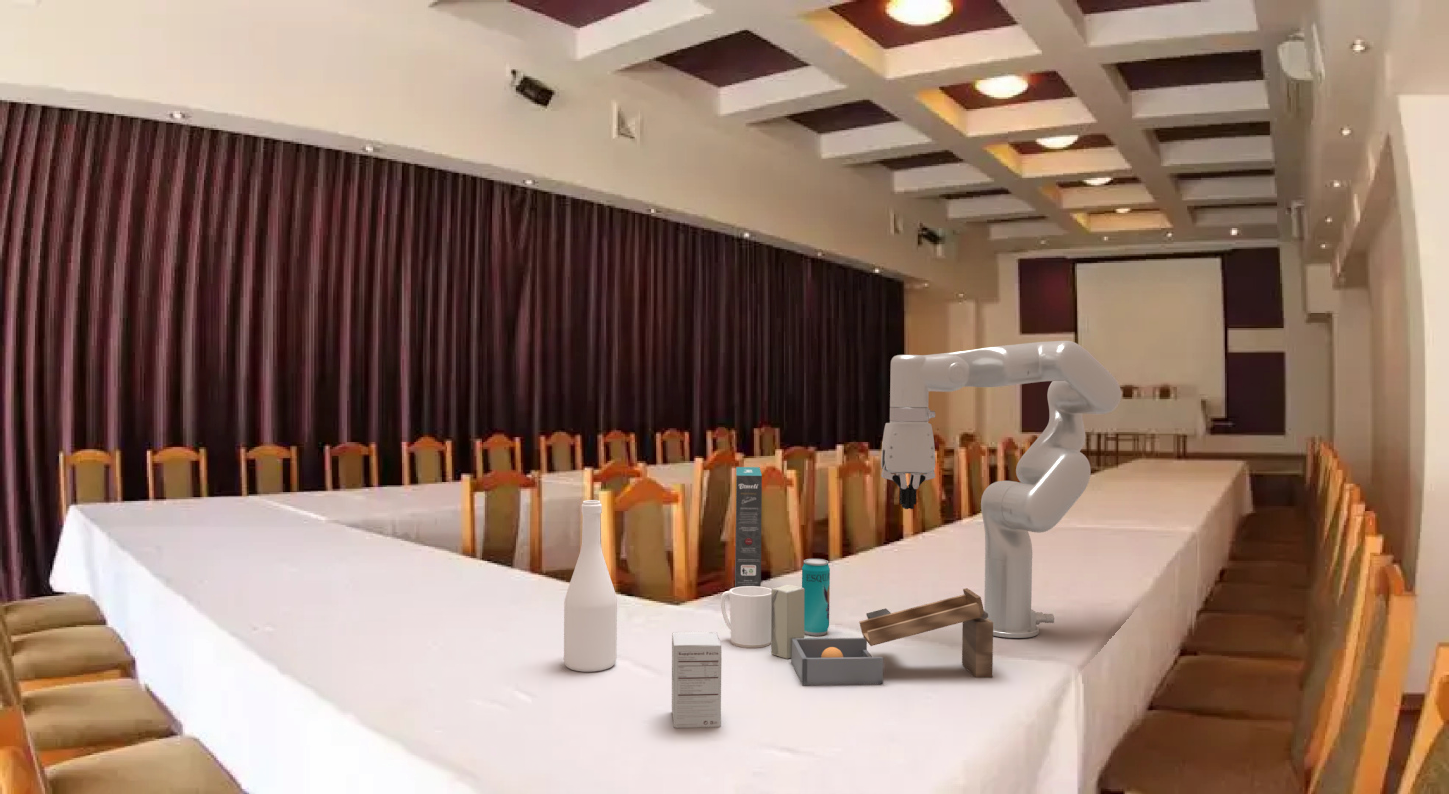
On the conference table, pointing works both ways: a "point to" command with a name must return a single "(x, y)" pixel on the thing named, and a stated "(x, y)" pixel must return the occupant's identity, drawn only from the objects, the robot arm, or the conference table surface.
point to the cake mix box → (748, 526)
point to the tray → (835, 662)
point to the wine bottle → (590, 602)
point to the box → (786, 618)
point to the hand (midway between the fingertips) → (907, 508)
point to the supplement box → (696, 679)
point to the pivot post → (978, 647)
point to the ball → (831, 653)
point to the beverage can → (816, 596)
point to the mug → (749, 616)
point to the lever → (921, 618)
